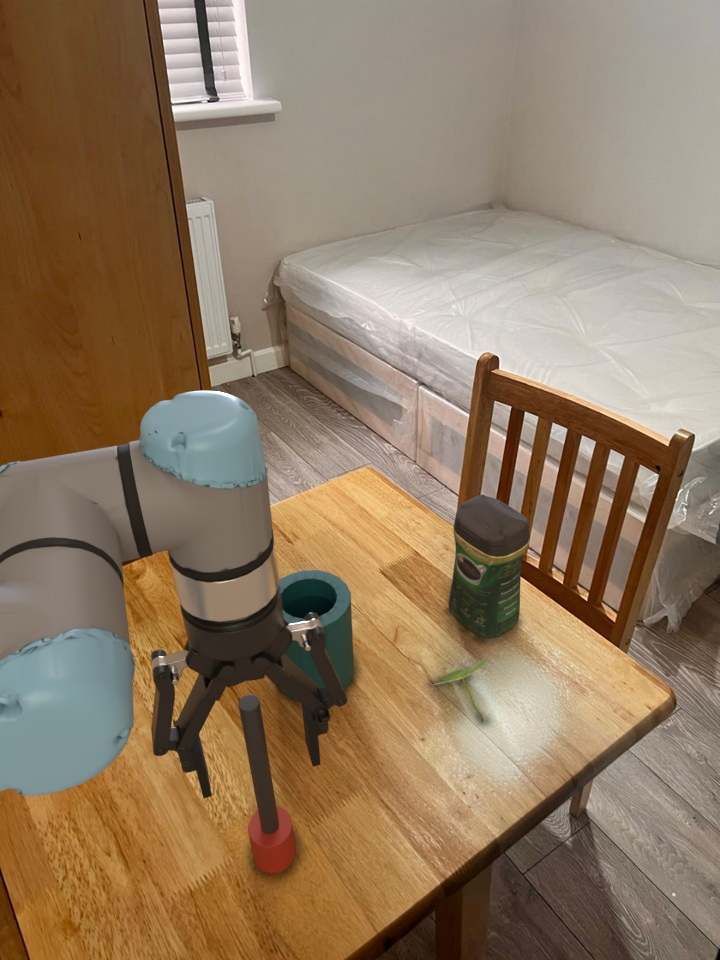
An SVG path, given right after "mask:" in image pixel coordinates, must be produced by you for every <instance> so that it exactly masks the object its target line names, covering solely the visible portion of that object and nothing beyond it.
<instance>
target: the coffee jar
mask: <svg viewBox="0 0 720 960" xmlns="http://www.w3.org/2000/svg"><path fill="white" fill-rule="evenodd" d="M454 517H455V518H454V522H453V527H452V532H453V539H454V543H455V544H454V545H455V555H454V563H453V571H452V572H453V573H452V579H451V585H450V590H449V598H448V610H449V612H450V613H451V614H452V616H453V618H455V619H456V620H457V621H458V622H459V623H460V624H461V625H463V626H464V627H465V628H467V630H469V631H470V632H472V633H473V634H475V635H476V636H478V637H481V638H483V639H495V638H499V637H502V636H503V635H505V634H508V632H510V631H512V630H513V629H514V628H515V627H516V626H517V624H518V623H519V620H520V619H519V618H520V610H521V609H520V608H521V579H522V564H523V563H522V562H523V556H524V554H525V553H526V551H527V549H528V547H529V544H530V521H529V519H528V517H526V516H525V515H524V514H522V513H521V512H519V511H517V510H516V509H515V508H513V507H511V506H510V505H508V504H506V503H505V502H503V501H502V500H500V499H498V498H495V497H492V496H488V495H485V494H483V493H481V494H479V495H476V496H474V497H472V498H469V499H468V500H466V501H464V502H462V503H461V504H460V505H459V507H458V509H457V510H456V513H455V516H454Z"/></svg>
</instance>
